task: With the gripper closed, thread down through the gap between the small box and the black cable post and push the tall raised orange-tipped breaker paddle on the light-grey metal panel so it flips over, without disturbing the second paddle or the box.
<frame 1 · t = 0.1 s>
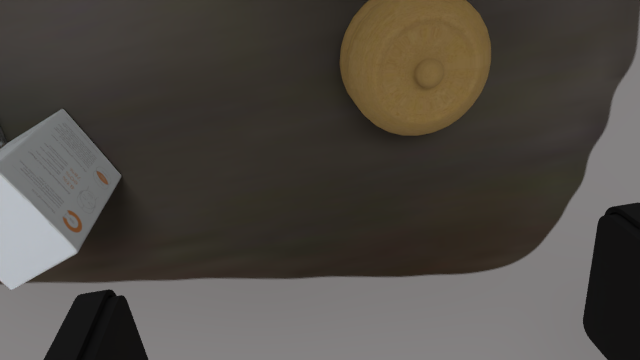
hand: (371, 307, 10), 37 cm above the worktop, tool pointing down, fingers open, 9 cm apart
pot: (396, 49, 45), on the worktop
small box: (68, 158, 46), on the worktop
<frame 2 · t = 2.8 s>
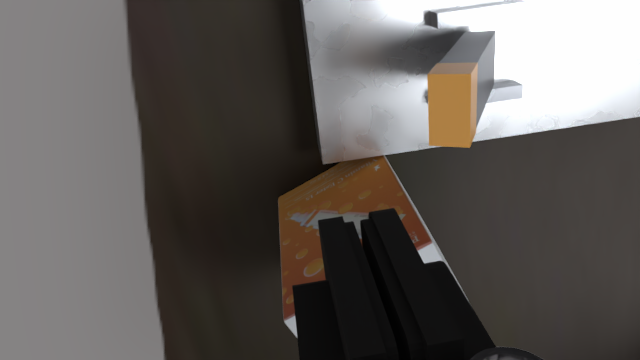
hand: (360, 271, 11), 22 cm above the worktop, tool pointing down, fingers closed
breaker paddle: (466, 80, 24), point 8 cm above the worktop, hinge at 30.0°
small box: (345, 200, 35), on the worktop
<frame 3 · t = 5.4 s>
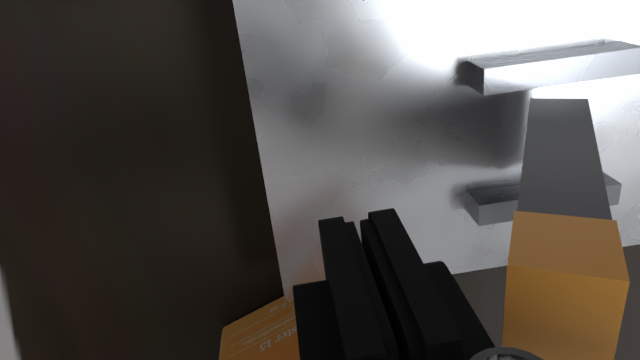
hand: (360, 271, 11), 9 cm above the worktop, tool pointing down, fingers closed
breaker paddle: (554, 214, 12), point 8 cm above the worktop, hinge at 29.1°, touching gripper
small box: (325, 326, 24), on the worktop
panel: (553, 34, 19), on the worktop
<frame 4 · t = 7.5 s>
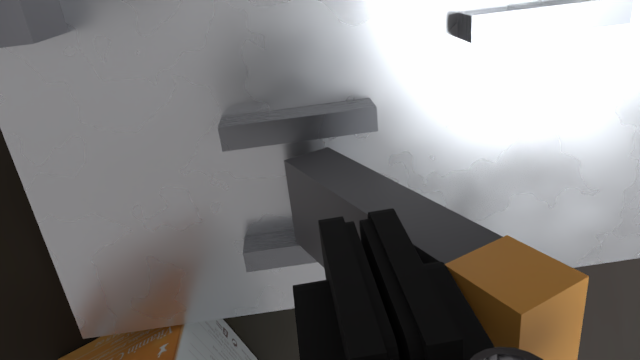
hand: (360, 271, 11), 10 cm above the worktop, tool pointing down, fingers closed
breaker paddle: (395, 254, 13), point 8 cm above the worktop, hinge at -24.1°, touching gripper
small box: (164, 359, 24), on the worktop
panel: (343, 85, 19), on the worktop
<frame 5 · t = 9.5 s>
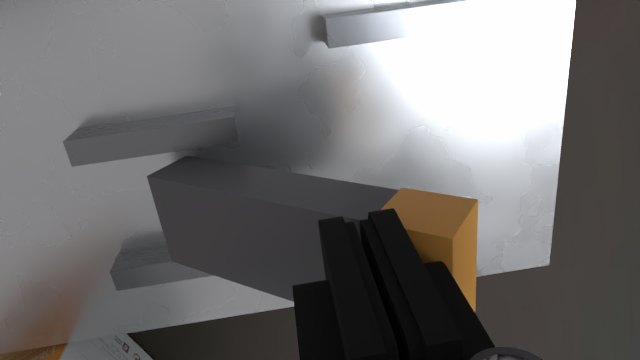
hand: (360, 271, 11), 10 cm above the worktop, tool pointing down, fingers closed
breaker paddle: (296, 237, 13), point 7 cm above the worktop, hinge at -51.7°, touching gripper
panel: (227, 90, 18), on the worktop
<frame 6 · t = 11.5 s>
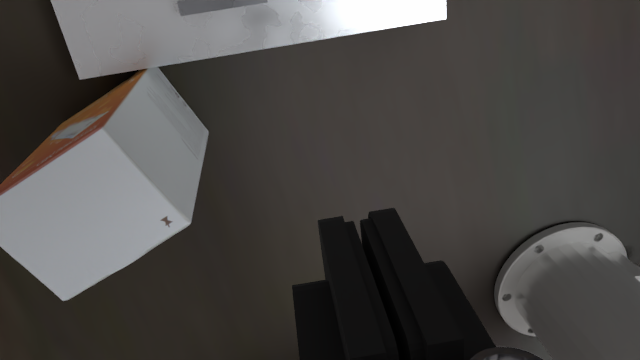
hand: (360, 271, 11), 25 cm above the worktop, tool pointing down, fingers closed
small box: (137, 126, 35), on the worktop
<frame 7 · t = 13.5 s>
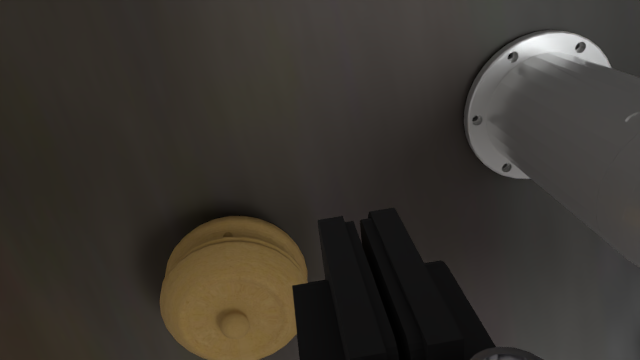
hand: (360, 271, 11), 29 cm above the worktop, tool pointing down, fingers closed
pot: (239, 253, 45), on the worktop
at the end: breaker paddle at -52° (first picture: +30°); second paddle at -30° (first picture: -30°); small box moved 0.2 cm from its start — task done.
